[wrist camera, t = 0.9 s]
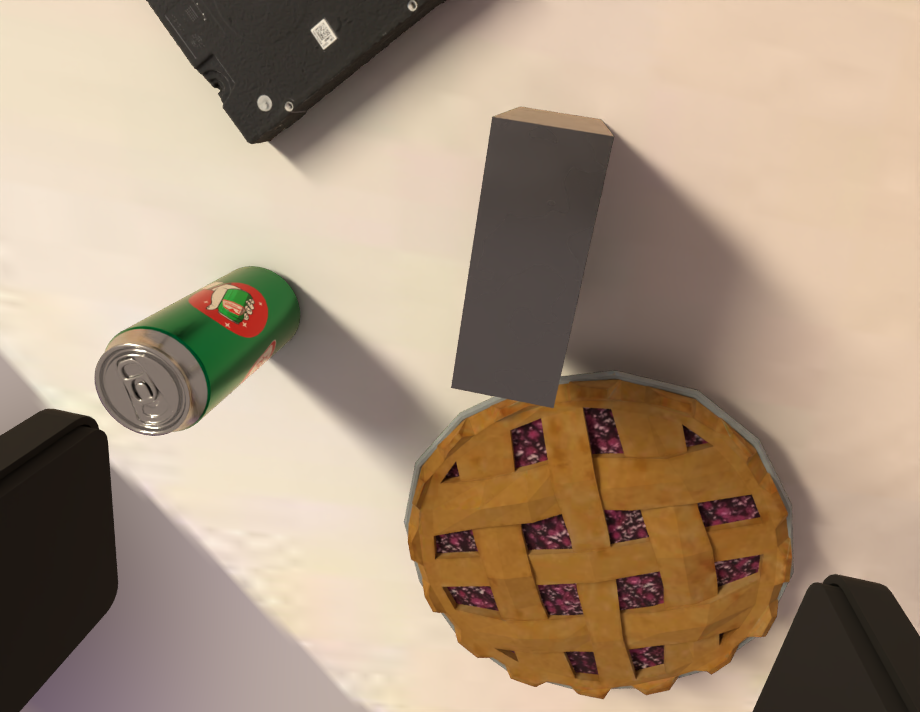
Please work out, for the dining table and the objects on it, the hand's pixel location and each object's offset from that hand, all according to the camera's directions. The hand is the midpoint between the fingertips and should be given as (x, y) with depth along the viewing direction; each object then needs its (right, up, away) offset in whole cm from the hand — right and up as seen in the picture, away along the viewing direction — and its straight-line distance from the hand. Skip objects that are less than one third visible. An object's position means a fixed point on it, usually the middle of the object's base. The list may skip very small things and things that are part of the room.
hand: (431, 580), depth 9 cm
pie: (+8, -7, +33) cm, 34 cm away
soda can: (-11, +6, +30) cm, 33 cm away
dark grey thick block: (+5, +10, +26) cm, 28 cm away
